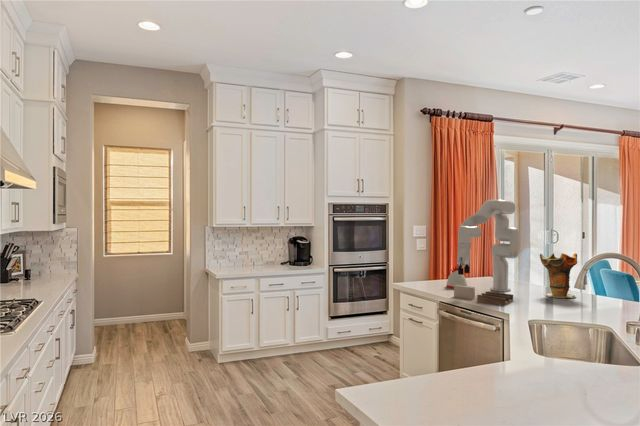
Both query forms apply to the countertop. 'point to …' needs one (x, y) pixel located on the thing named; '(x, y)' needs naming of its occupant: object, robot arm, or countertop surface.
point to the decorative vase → (559, 274)
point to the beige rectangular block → (464, 292)
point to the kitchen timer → (456, 279)
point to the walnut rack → (495, 298)
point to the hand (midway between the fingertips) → (463, 273)
